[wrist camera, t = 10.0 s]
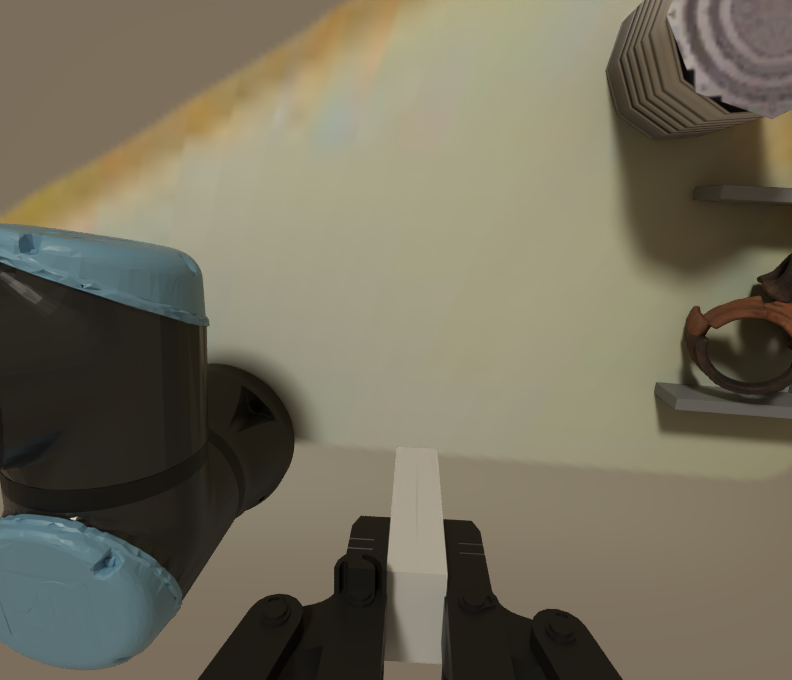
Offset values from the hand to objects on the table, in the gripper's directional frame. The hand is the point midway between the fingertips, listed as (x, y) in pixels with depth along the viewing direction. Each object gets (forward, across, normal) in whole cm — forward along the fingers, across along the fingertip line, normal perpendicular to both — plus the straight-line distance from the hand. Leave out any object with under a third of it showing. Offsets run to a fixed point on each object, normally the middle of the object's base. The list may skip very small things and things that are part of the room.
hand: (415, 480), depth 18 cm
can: (+27, -20, -22) cm, 40 cm away
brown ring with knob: (+27, -28, -2) cm, 39 cm away
